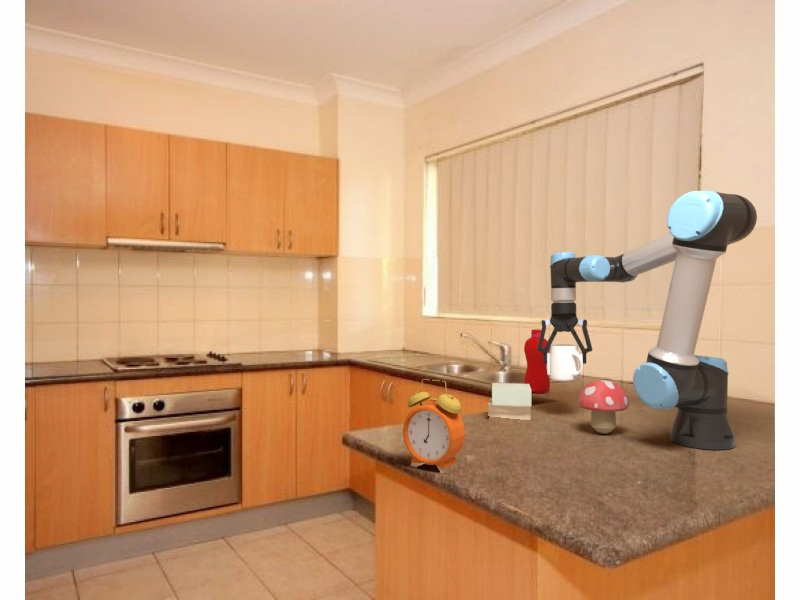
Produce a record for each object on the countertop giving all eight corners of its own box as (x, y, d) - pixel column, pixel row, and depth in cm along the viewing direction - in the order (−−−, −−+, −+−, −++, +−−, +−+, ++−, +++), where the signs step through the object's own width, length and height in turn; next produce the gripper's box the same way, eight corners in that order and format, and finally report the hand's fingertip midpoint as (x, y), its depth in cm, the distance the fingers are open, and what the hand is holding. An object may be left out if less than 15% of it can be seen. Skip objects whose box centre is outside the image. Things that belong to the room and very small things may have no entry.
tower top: (531, 406, 174) (531, 390, 174) (492, 404, 176) (492, 389, 176) (529, 398, 185) (529, 383, 185) (492, 397, 187) (492, 382, 187)
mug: (572, 383, 167) (571, 347, 167) (544, 379, 178) (543, 345, 178) (592, 381, 171) (592, 346, 171) (564, 377, 182) (563, 344, 182)
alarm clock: (401, 466, 129) (401, 379, 129) (416, 459, 134) (415, 376, 134) (452, 476, 122) (452, 384, 121) (465, 469, 127) (465, 380, 127)
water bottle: (553, 390, 227) (553, 328, 227) (544, 394, 218) (544, 330, 217) (530, 388, 232) (530, 328, 232) (521, 392, 223) (521, 329, 222)
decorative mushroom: (637, 439, 151) (637, 383, 151) (588, 439, 151) (587, 384, 151) (617, 427, 165) (617, 376, 165) (572, 428, 165) (571, 377, 165)
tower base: (530, 423, 173) (530, 407, 173) (487, 421, 175) (488, 405, 175) (530, 414, 185) (530, 399, 185) (490, 412, 188) (490, 397, 188)
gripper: (598, 301, 176) (600, 373, 176) (527, 302, 181) (528, 372, 181) (601, 301, 169) (603, 376, 169) (527, 302, 174) (529, 375, 174)
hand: (564, 374), depth 175 cm, fingers closed on mug, 9 cm apart
